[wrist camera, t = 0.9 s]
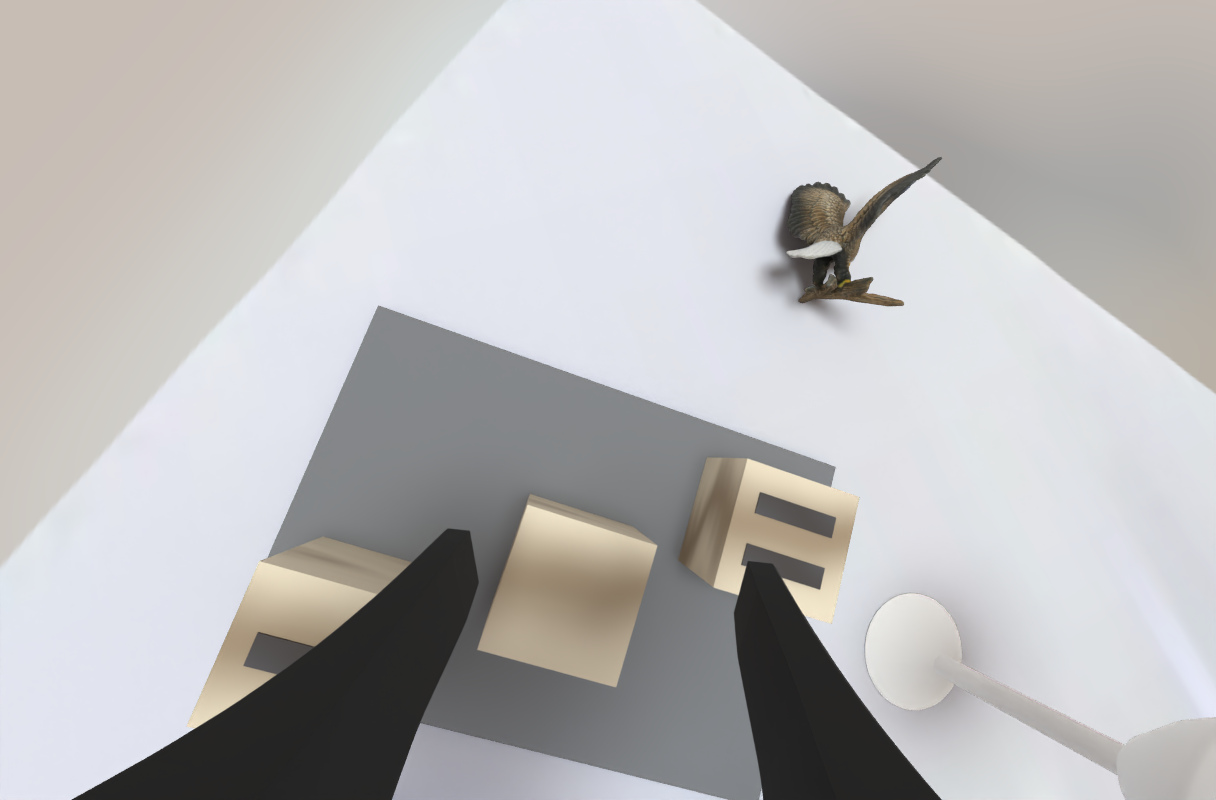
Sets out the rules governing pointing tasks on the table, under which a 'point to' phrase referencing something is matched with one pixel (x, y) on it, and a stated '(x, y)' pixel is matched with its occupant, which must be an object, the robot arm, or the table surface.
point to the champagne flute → (1030, 704)
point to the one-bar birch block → (291, 615)
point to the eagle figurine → (839, 236)
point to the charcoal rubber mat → (492, 510)
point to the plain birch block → (569, 592)
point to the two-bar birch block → (770, 531)
